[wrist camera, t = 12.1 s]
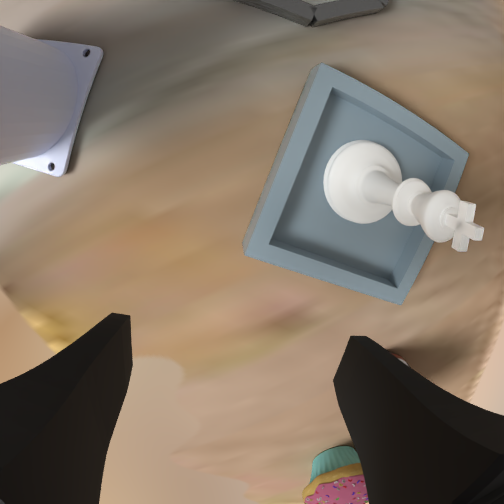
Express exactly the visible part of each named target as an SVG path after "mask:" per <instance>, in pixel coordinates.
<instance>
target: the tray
mask: <svg viewBox="0 0 504 504" xmlns="http://www.w3.org/2000/svg"><path fill="white" fill-rule="evenodd" d="M356 140H368V141H372V142H375V143H377V144H379V145H381V146H383V147H385V148H386V149H387V150H389V151H390V152H391V153H392V154H393V156H394V157H395V159H396V160H397V162H398V164H399V167H400V170H401V174H402V182H403V181H405V180H407V179H409V178H417V179H420V180H422V181H423V182H425V183H426V184H427V185H428V187H429V188H430V190H431V192H435V191H439V190H449V191H452V192H454V193H455V191H456V189H457V186H458V184H459V181H460V178H461V176H462V173H463V170H464V167H465V164H466V162H467V159H468V156H469V153H467V152H466V151H465V150H464V149H462V148H461V147H460V146H458V145H457V144H456V143H455V142H453V141H452V140H451V139H449V138H448V137H447V136H445V135H444V134H442V133H441V132H440V131H438V130H437V129H435V128H434V127H433V126H431V125H430V124H428V123H427V122H425V121H424V120H422V119H421V118H419V117H418V116H416V115H415V114H413V113H412V112H410V111H409V110H407V109H406V108H404V107H402V106H401V105H399V104H398V103H396V102H394V101H393V100H391V99H389V98H388V97H386V96H384V95H383V94H381V93H379V92H377V91H376V90H374V89H372V88H370V87H369V86H367V85H365V84H363V83H361V82H359V81H358V80H356V79H354V78H352V77H350V76H348V75H346V74H344V73H342V72H340V71H338V70H336V69H334V68H332V67H330V66H328V65H326V64H324V63H320V64H318V65H317V66H315V67H314V68H312V69H311V71H310V73H309V76H308V78H307V81H306V83H305V86H304V88H303V91H302V93H301V96H300V98H299V101H298V103H297V106H296V108H295V110H294V113H293V115H292V118H291V120H290V123H289V125H288V128H287V130H286V133H285V135H284V138H283V140H282V143H281V145H280V148H279V150H278V153H277V155H276V158H275V160H274V163H273V166H272V168H271V171H270V173H269V176H268V178H267V181H266V183H265V186H264V188H263V191H262V193H261V196H260V198H259V201H258V204H257V206H256V209H255V211H254V214H253V216H252V219H251V221H250V224H249V227H248V229H247V232H246V234H245V237H244V239H243V242H242V245H243V251H244V255H245V256H248V257H251V258H254V259H257V260H261V261H264V262H267V263H270V264H273V265H276V266H279V267H282V268H285V269H288V270H292V271H295V272H298V273H301V274H304V275H307V276H310V277H313V278H317V279H320V280H323V281H326V282H329V283H332V284H335V285H338V286H342V287H345V288H348V289H351V290H354V291H357V292H360V293H363V294H367V295H370V296H373V297H376V298H379V299H382V300H386V301H389V302H392V303H395V304H398V305H402V303H403V301H404V299H405V298H406V296H407V294H408V292H409V290H410V288H411V287H412V285H413V283H414V281H415V279H416V277H417V275H418V273H419V271H420V269H421V267H422V265H423V263H424V261H425V259H426V257H427V255H428V253H429V251H430V249H431V247H432V245H433V243H434V241H433V240H431V239H430V238H429V237H428V236H427V235H426V233H425V232H424V230H423V229H422V227H421V225H420V224H419V225H416V226H406V225H403V224H401V223H400V222H399V221H398V220H397V219H396V217H395V216H394V213H393V209H392V210H391V212H390V213H389V214H387V215H386V216H385V217H384V218H382V219H380V220H378V221H376V222H373V223H367V224H360V223H355V222H352V221H349V220H346V219H344V218H342V217H341V216H339V215H338V214H337V213H336V212H335V211H334V210H333V209H332V208H331V206H330V205H329V203H328V201H327V199H326V196H325V192H324V185H323V180H324V172H325V169H326V166H327V163H328V161H329V160H330V158H331V156H332V155H333V154H334V153H335V152H336V151H337V150H338V149H339V148H340V147H341V146H343V145H345V144H347V143H349V142H352V141H356Z"/></svg>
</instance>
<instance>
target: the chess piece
mask: <svg viewBox="0 0 504 504" xmlns="http://www.w3.org/2000/svg"><path fill="white" fill-rule="evenodd" d="M323 185H324V192H325V196H326V199H327V201H328V203H329V205H330V206H331V208H332V209H333V210H334V211H335V212H336V213H337V214H338V215H339V216H341V217H342V218H344V219H346V220H349V221H352V222H355V223H360V224H367V223H373V222H376V221H378V220H380V219H382V218H384V217H385V216H386V215H387V214H389V213H390V212H391V210H392V209H393V213H394V216H395V217H396V219H397V220H398V221H399V222H400V223H401V224H403V225H406V226H416V225H419V224H420V225H421V227H422V229H423V230H424V232H425V233H426V235H427V236H428V237H429V238H430V239H431V240H433V241H435V242H446V241H448V240H450V239H452V238H453V242H452V248H453V249H455V250H457V251H458V252H467V248H468V244H469V239H472V240H480V241H482V237H483V233H484V227H482V226H479V225H477V224H475V223H473V220H474V214H475V209H476V204H473V203H471V202H468V201H461V200H460V198H459V197H458V196H457V195H456V194H455V193H454V192H452V191H449V190H439V191H435V192H431V190H430V188H429V187H428V185H427V184H426V183H425V182H423V181H422V180H420V179H417V178H409V179H407V180H405V181H403V182H402V174H401V170H400V167H399V164H398V162H397V160H396V159H395V157H394V156H393V154H392V153H391V152H390V151H389V150H387V149H386V148H385V147H383V146H381V145H379V144H377V143H375V142H372V141H368V140H356V141H352V142H349V143H347V144H345V145H343V146H341V147H340V148H339V149H338V150H337V151H336V152H335V153H334V154H333V155H332V156H331V158H330V160H329V161H328V163H327V166H326V169H325V172H324V180H323Z"/></svg>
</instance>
